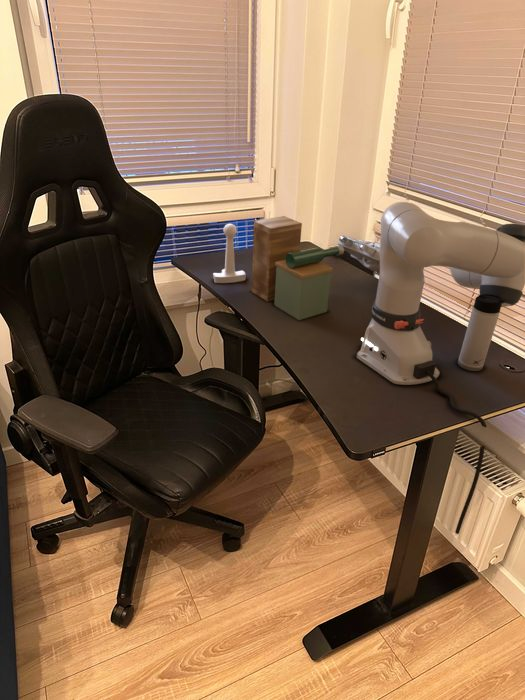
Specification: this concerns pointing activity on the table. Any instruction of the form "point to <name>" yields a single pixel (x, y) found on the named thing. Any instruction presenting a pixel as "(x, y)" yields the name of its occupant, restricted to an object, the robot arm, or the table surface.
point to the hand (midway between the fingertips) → (351, 242)
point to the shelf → (272, 251)
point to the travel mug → (480, 331)
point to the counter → (302, 289)
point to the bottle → (311, 256)
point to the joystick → (229, 260)
